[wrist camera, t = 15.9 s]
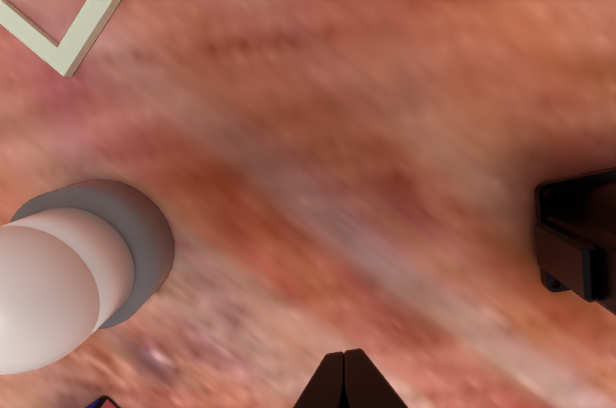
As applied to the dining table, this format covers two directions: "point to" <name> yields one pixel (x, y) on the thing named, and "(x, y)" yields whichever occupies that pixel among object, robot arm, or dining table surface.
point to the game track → (74, 42)
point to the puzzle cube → (102, 404)
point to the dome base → (120, 232)
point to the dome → (57, 284)
